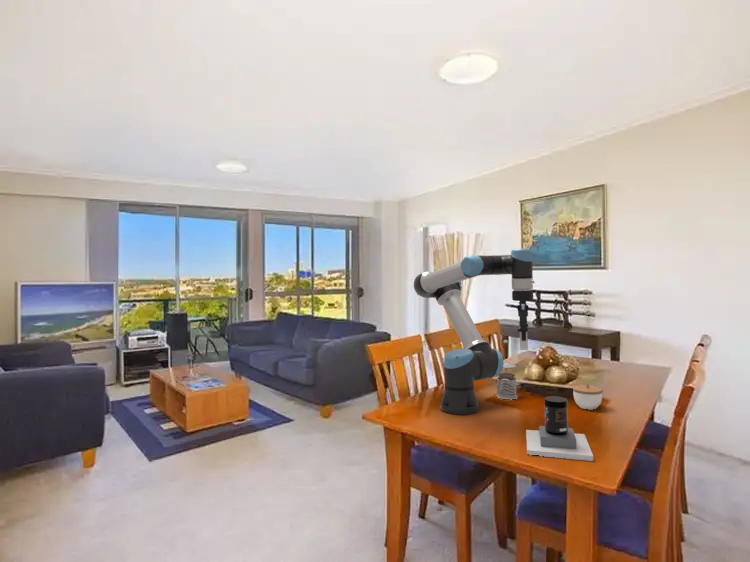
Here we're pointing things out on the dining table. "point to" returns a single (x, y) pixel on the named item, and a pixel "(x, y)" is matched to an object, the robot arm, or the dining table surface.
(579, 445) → the build base
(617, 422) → the dining table surface
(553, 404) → the supplement container
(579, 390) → the lidded jar
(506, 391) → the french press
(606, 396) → the dining table surface
